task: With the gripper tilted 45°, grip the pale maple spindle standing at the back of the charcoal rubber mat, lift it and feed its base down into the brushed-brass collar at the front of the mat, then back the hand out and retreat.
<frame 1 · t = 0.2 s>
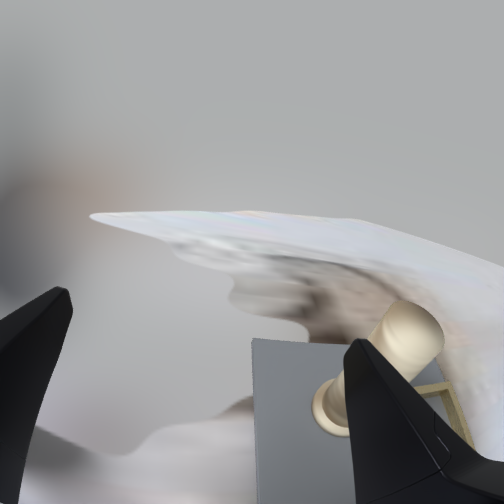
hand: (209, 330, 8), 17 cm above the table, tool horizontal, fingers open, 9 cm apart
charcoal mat: (379, 443, 20), on the table
maple spindle: (340, 409, 23), point 1 cm above the table, touching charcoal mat
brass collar: (427, 430, 21), resting on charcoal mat
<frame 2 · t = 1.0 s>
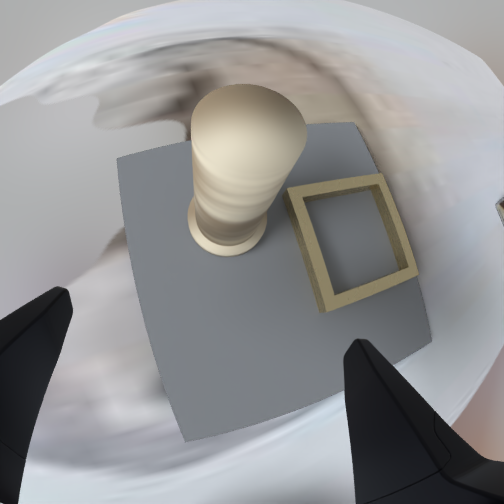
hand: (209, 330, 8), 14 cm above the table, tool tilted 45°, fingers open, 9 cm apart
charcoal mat: (286, 257, 23), on the table
maple spindle: (226, 219, 22), point 1 cm above the table, touching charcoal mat
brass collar: (352, 238, 24), resting on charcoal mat
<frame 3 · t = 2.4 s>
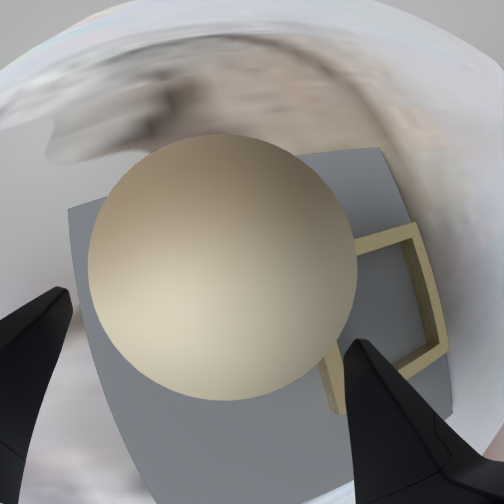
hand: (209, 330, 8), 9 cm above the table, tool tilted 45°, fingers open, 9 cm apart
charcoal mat: (291, 344, 17), on the table
maple spindle: (211, 300, 16), point 1 cm above the table, touching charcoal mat
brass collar: (375, 312, 18), resting on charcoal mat
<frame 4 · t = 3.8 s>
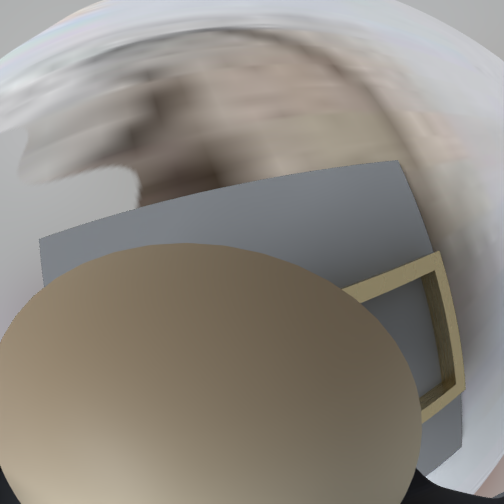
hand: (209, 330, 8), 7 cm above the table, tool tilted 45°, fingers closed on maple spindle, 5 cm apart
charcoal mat: (296, 394, 14), on the table
maple spindle: (203, 351, 13), point 1 cm above the table, touching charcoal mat, gripper
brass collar: (390, 356, 15), resting on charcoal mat
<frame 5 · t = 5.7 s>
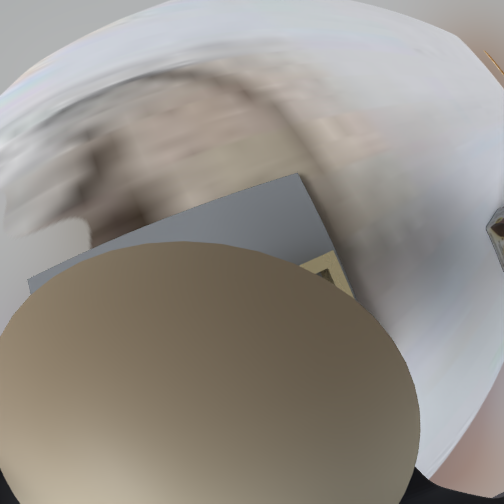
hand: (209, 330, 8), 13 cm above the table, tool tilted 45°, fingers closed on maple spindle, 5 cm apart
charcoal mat: (218, 375, 19), on the table
maple spindle: (203, 351, 13), point 7 cm above the table, touching gripper
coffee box: (502, 247, 28), on the table
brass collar: (295, 342, 20), resting on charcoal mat
when the fingers open (8 cm above the table, at t = 7.7 s): maple spindle stays where it is, resting on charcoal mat.
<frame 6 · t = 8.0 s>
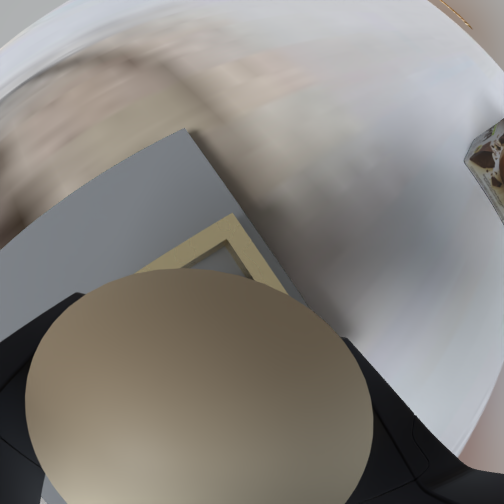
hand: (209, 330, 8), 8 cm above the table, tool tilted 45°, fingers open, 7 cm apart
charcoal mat: (120, 398, 14), on the table
maple spindle: (203, 349, 14), point 1 cm above the table, touching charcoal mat
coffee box: (489, 182, 23), on the table
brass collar: (204, 349, 14), resting on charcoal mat
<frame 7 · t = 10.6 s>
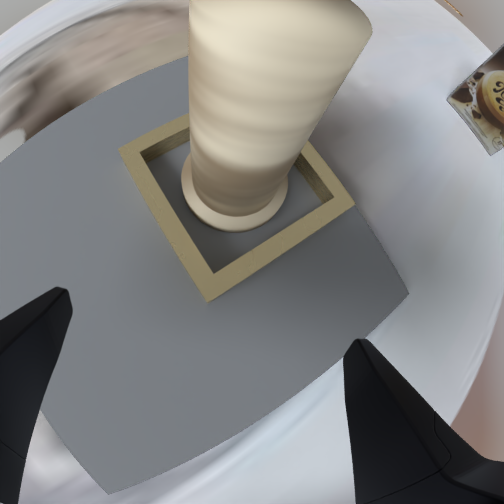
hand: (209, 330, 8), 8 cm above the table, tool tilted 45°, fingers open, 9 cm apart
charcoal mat: (146, 239, 16), on the table
maple spindle: (233, 183, 17), point 1 cm above the table, touching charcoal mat
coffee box: (472, 121, 25), on the table
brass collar: (234, 183, 17), resting on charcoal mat
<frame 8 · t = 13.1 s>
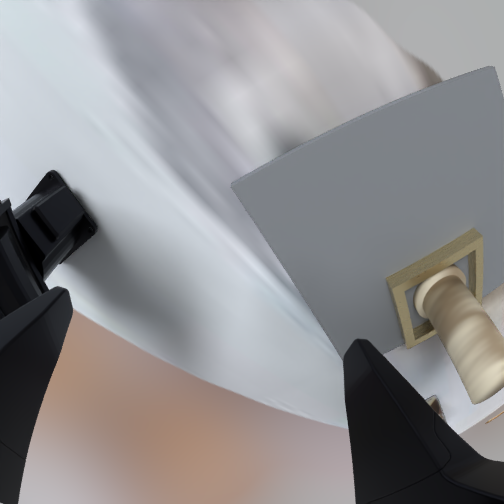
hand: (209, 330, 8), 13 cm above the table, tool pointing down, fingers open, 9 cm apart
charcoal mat: (427, 238, 21), on the table
maple spindle: (438, 289, 23), point 1 cm above the table, touching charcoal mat
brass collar: (438, 289, 23), resting on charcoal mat
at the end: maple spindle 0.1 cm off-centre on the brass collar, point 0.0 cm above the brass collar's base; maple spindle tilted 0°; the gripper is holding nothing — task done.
